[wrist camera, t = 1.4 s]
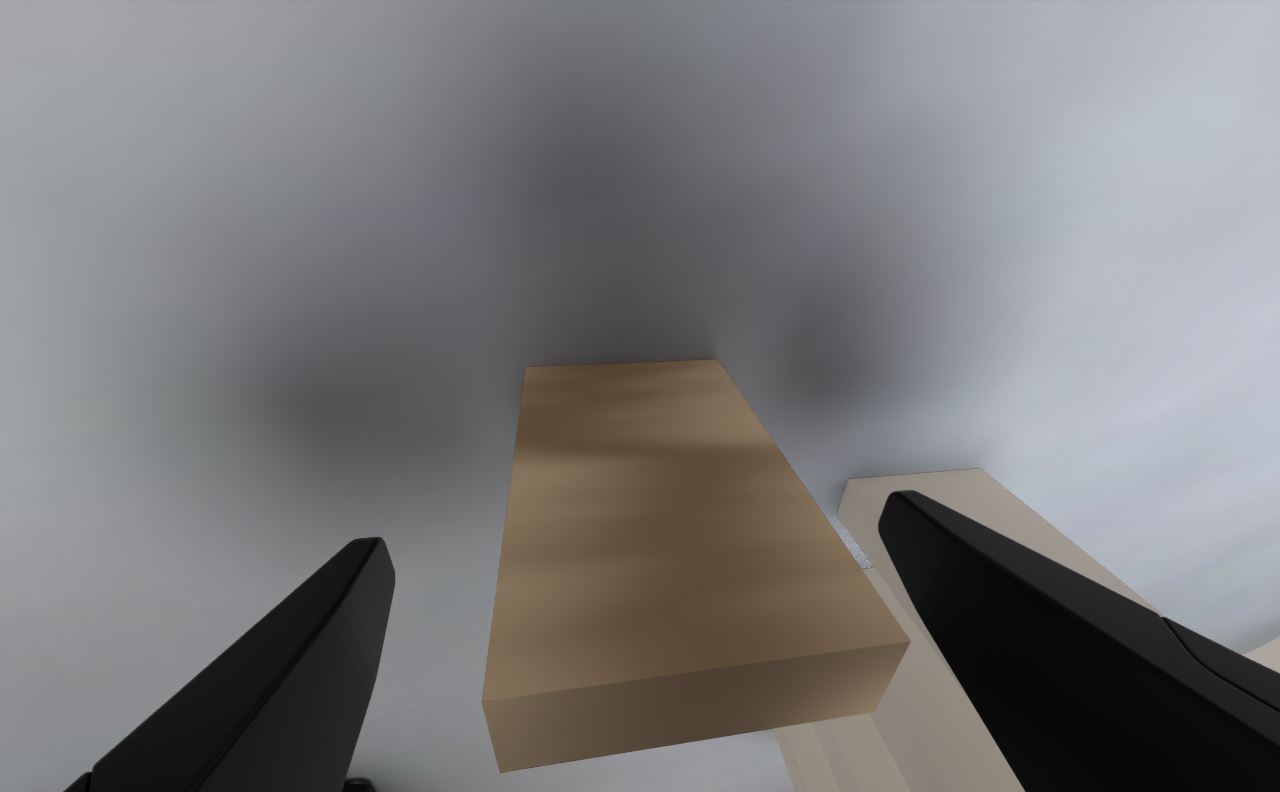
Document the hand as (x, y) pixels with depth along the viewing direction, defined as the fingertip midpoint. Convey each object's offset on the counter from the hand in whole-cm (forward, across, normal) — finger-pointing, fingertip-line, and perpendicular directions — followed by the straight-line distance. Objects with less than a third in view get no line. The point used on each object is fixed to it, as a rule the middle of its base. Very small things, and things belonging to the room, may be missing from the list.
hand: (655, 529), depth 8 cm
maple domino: (+5, 0, 0) cm, 5 cm away
